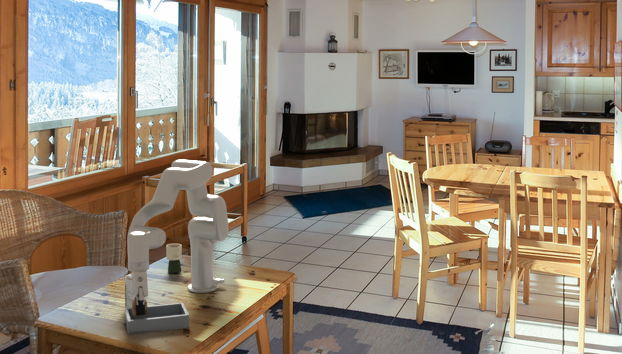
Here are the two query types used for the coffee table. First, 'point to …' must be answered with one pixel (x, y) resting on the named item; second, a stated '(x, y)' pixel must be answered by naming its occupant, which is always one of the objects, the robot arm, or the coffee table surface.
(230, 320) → the coffee table surface
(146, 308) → the walnut cube
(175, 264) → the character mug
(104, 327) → the coffee table surface
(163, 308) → the tote
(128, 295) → the syrup box
